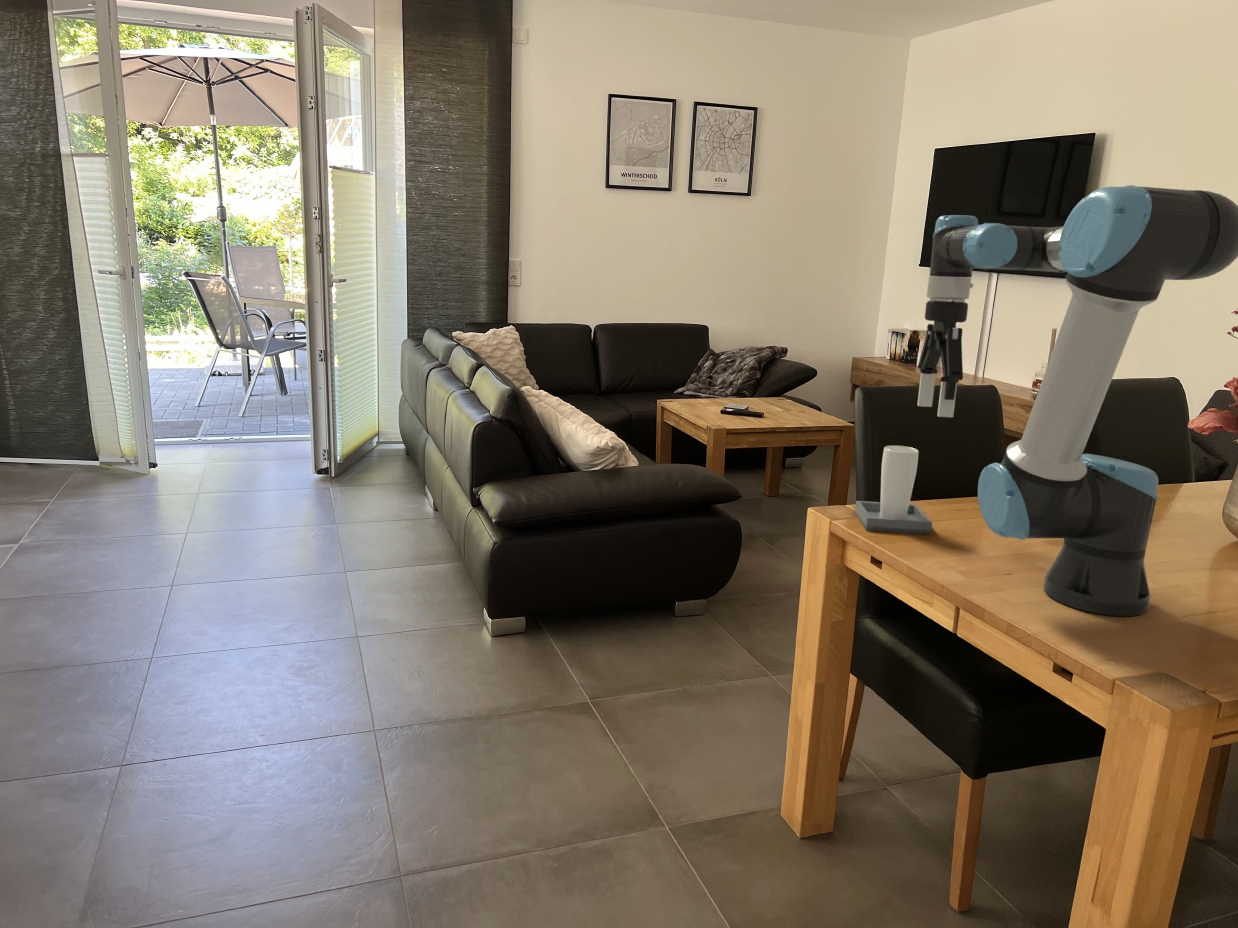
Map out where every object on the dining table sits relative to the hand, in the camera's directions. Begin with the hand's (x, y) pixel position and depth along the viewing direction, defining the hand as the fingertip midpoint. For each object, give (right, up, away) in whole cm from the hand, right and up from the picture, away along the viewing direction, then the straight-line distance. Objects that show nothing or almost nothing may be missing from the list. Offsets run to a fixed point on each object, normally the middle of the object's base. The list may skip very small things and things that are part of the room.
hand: (934, 411), depth 171 cm
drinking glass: (-6, -22, +8) cm, 24 cm away
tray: (-5, -22, +9) cm, 25 cm away
